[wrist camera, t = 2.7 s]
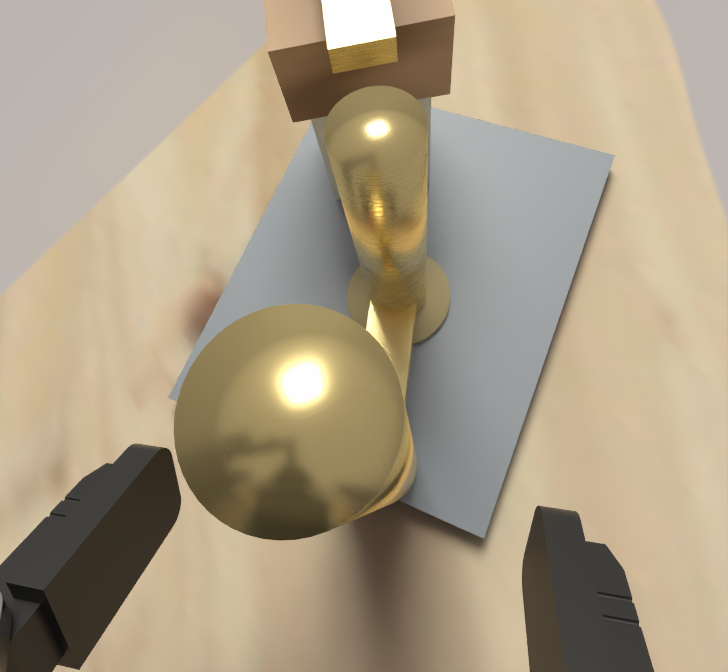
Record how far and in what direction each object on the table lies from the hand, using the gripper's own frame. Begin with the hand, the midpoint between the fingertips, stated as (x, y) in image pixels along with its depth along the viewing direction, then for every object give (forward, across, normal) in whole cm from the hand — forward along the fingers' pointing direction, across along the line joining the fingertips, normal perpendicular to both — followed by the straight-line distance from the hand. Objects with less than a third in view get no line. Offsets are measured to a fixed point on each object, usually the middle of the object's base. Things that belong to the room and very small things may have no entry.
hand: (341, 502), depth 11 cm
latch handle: (+11, +1, 0) cm, 12 cm away
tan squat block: (+13, +2, -9) cm, 16 cm away
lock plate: (+14, +1, 0) cm, 14 cm away
